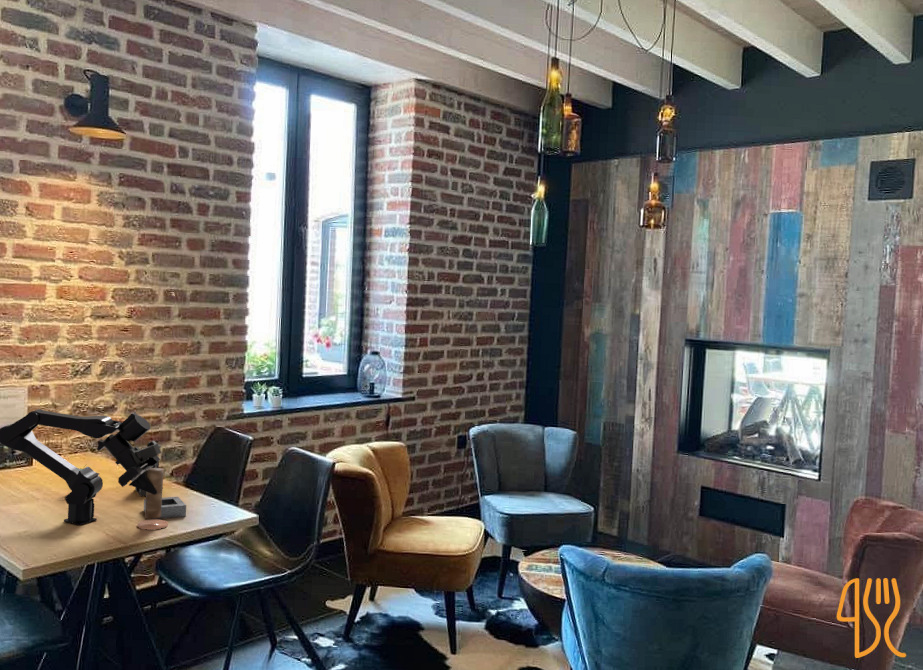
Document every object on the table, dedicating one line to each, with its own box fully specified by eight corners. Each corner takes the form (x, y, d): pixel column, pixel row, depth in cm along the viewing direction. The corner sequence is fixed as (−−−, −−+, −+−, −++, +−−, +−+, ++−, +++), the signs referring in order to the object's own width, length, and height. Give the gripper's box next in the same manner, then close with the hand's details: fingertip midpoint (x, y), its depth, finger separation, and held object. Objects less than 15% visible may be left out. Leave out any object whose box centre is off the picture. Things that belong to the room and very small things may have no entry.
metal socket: (151, 519, 238) (151, 508, 237) (143, 510, 246) (144, 499, 246) (185, 516, 243) (186, 505, 243) (177, 507, 252) (177, 496, 252)
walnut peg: (146, 519, 229) (149, 472, 228) (143, 515, 233) (146, 468, 232) (162, 517, 232) (165, 471, 231) (158, 513, 235) (161, 467, 234)
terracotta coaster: (152, 532, 227) (153, 529, 227) (130, 526, 230) (131, 524, 230) (174, 524, 235) (174, 522, 234) (152, 519, 238) (152, 517, 238)
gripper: (132, 440, 221) (169, 481, 222) (155, 428, 240) (189, 466, 241) (102, 465, 221) (139, 507, 222) (127, 451, 240) (162, 490, 241)
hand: (159, 491), depth 232 cm, fingers closed on walnut peg, 4 cm apart
